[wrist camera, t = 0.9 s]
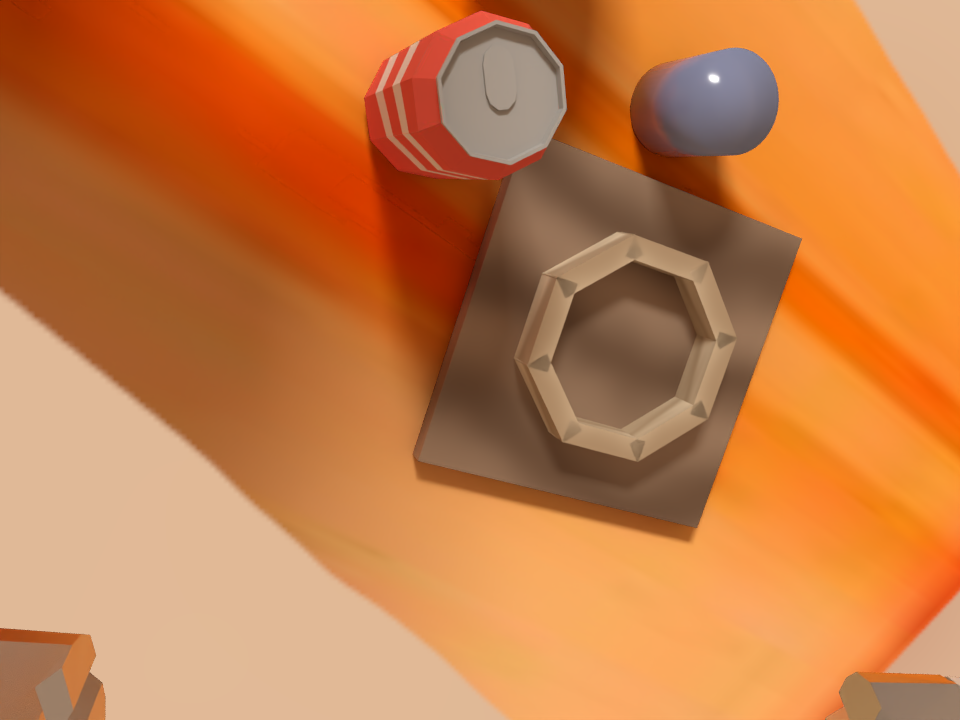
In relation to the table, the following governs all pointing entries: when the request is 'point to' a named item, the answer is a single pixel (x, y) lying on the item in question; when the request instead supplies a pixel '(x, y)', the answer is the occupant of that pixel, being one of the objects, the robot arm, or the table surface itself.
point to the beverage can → (468, 100)
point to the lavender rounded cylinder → (705, 105)
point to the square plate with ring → (605, 338)
